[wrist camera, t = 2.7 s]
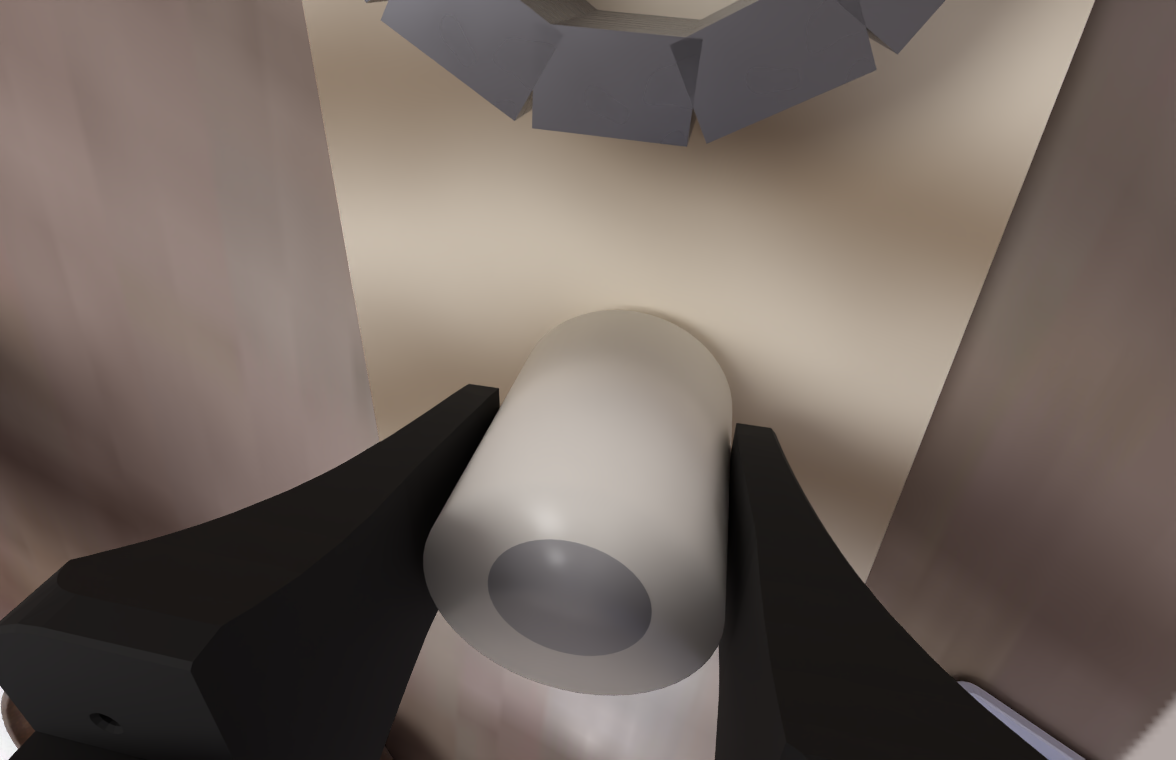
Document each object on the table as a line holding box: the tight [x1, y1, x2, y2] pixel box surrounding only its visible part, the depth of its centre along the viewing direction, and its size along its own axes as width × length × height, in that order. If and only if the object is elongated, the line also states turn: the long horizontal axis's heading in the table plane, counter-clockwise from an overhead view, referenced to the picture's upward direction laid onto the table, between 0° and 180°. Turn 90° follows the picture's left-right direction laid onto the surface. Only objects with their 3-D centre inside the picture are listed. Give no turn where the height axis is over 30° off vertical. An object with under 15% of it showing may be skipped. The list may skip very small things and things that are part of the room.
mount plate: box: [302, 0, 1095, 583], centre depth 12 cm, size 20×12×1 cm, turn 178°
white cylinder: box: [423, 310, 732, 695], centre depth 11 cm, size 4×4×5 cm
